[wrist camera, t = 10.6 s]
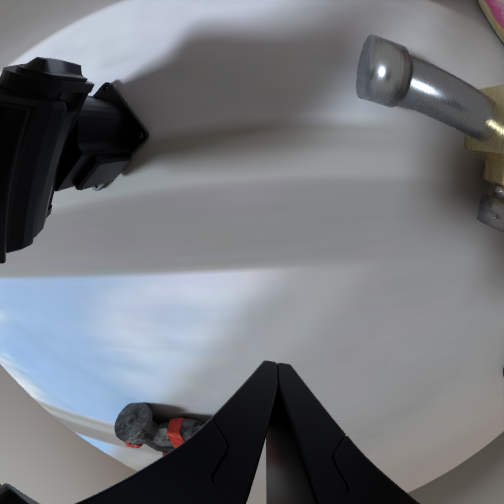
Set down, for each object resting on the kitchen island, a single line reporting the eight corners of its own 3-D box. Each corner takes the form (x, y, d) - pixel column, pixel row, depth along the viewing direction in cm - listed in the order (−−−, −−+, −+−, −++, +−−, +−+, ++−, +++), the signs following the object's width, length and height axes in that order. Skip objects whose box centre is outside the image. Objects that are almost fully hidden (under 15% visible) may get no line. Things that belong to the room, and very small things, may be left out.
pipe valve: (347, 143, 16) (369, 142, 11) (359, 45, 13) (381, 16, 9) (516, 209, 15) (551, 225, 10) (527, 133, 12) (562, 137, 7)
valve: (169, 445, 37) (105, 402, 31) (317, 423, 31) (273, 368, 25) (164, 475, 31) (93, 436, 25) (322, 462, 25) (276, 424, 19)
